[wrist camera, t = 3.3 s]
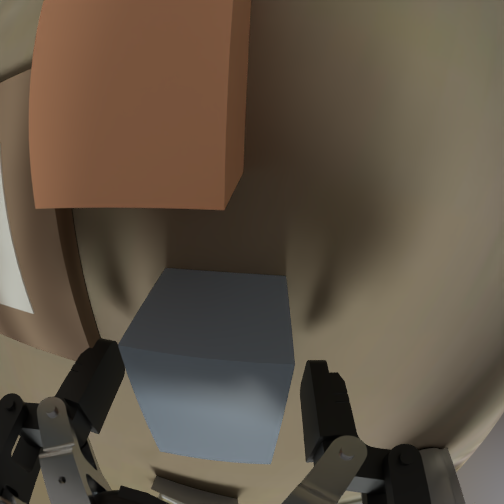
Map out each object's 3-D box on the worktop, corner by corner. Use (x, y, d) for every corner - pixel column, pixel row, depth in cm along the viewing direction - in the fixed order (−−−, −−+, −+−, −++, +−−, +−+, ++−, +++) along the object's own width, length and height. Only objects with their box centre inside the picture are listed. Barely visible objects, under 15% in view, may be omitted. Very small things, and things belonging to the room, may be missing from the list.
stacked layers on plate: (164, 455, 28) (150, 482, 27) (151, 488, 20) (135, 516, 18) (235, 484, 28) (218, 509, 27) (241, 521, 20) (219, 547, 18)
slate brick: (285, 274, 12) (294, 364, 7) (271, 384, 15) (270, 464, 10) (166, 266, 12) (117, 344, 7) (181, 376, 15) (160, 451, 10)
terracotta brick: (251, -3, 7) (240, -80, 3) (243, 172, 10) (224, 210, 6) (125, 11, 7) (53, -32, 3) (118, 172, 10) (35, 208, 6)
